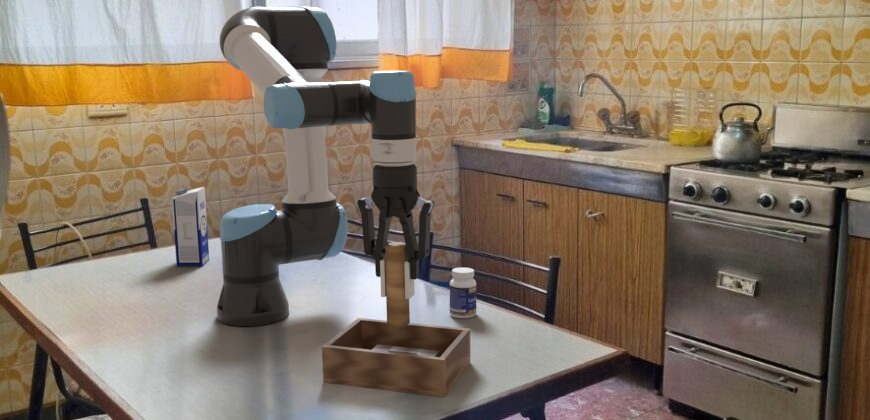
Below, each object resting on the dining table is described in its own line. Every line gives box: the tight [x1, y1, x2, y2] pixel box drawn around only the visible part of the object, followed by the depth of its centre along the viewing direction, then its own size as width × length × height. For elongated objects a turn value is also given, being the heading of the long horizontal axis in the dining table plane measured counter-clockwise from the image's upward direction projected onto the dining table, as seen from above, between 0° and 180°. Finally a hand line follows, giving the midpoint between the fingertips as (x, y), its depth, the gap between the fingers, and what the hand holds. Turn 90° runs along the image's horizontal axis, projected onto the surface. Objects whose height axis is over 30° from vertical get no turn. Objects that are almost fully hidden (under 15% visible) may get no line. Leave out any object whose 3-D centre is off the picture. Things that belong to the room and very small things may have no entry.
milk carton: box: [171, 186, 210, 268], centre depth 231 cm, size 7×7×20 cm
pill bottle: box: [449, 267, 477, 319], centre depth 188 cm, size 6×6×10 cm
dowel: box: [384, 241, 411, 326], centre depth 154 cm, size 4×4×14 cm
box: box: [321, 317, 471, 398], centre depth 157 cm, size 22×16×6 cm
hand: (397, 295), depth 155 cm, fingers closed on dowel, 4 cm apart
